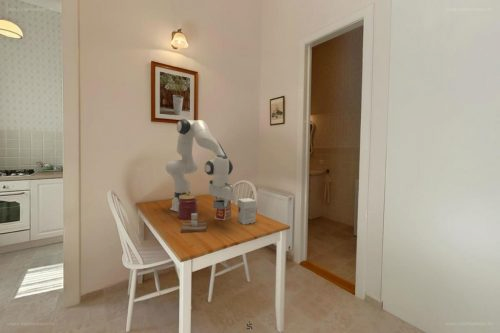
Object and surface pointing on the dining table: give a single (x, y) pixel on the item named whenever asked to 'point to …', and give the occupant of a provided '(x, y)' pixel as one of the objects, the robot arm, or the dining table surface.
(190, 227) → the post base
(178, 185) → the robot arm
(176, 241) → the dining table surface
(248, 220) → the supplement box
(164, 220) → the dining table surface
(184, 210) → the canister
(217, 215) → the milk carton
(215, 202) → the collar
